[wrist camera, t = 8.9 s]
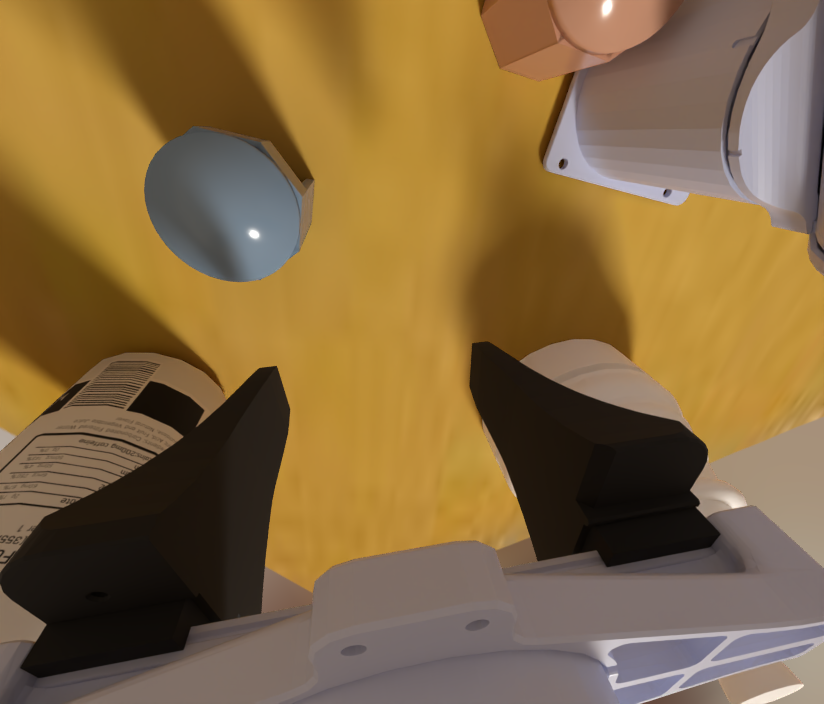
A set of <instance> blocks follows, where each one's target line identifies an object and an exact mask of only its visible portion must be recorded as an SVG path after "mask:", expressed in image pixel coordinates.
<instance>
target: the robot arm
mask: <svg viewBox="0 0 824 704" xmlns="http://www.w3.org/2000/svg"><path fill="white" fill-rule="evenodd" d="M561 159H564V165H563V167H562V168H559V166H558V165H559V162H560V160H561ZM543 167H544V169H545V170H546V171H548V172H551V173H555V174H559V175H563V176H566V177H570V178H574V179H578V180H581V181H585V182H589V183H593V184H596V185H600V186H604V187H608V188H611V189H615V190H619V191H623V192H626V193H630V194H634V195H638V196H641V197H645V198H649V199H653V200H656V201H660V202H664V203H668V204H672V205H680V204H682V203H683V202H684V201H685V200H686V199H687V197H688V195H689V194H690V193H694V194H700V195H706V196H711V197H717V198H723V199H729V200H734V201H740V202H746V203H752V204H757V205H761V206H763V207H764V208H766V210H767V211H768V212H769V214H770V217H771V225H772V226H773V227H778V228H782V229H787V230H791V231H796V232H801V233H805V234H809V241H808V249H807V250H808V254H809V259H810V261H811V262H812V264H813V265H814V267H815V268H816V270H817V271H819V272H820V273H821V274H822V275H823V276H824V0H684V1H683V3H682V4H681V5H680V7H679V8H678V10H677V11H676V12H675V13H674V15H673V16H672V17H671V18H670V19H669V20H668V22H667V23H666V24H665V25H664V26H663V27H662V28H661V29H660V30H658V31H657V32H656V33H655V34H653V35H652V36H651V37H650V38H648V39H647V40H645V41H643V42H642V43H640V44H638V45H636V46H634V47H632V48H629V49H626V50H625V51H623V52H622V53H620V54H619V55H618V56H616V57H615V58H614V59H612V60H611V61H609V62H607V63H604V64H600V65H596V66H593V67H589V68H586V69H582V70H578V71H575V74H574V76H573V79H572V82H571V85H570V87H569V90H568V93H567V96H566V99H565V101H564V104H563V107H562V110H561V112H560V115H559V118H558V121H557V123H556V126H555V129H554V132H553V135H552V137H551V140H550V143H549V146H548V148H547V151H546V154H545V157H544V160H543ZM666 189H667V191H666V193H665V195H663V193H664V191H665V190H666ZM470 389H471V392H472V395H473V398H474V401H475V404H476V407H477V409H478V411H479V413H480V415H481V417H482V419H483V421H484V423H485V425H486V427H487V429H488V431H489V433H490V435H491V437H492V439H493V441H494V443H495V445H496V447H497V449H498V451H499V453H500V455H501V457H502V459H503V462H504V464H505V466H506V469H507V472H508V474H509V477H510V480H511V482H512V485H513V488H514V490H515V493H516V496H517V499H518V502H519V505H520V507H521V510H522V513H523V516H524V519H525V522H526V525H527V529H528V532H529V535H530V538H531V541H532V544H533V547H534V550H535V554H536V557H537V560H538V561H537V562H532V563H527V564H521V565H516V566H511V567H506V568H501V566H500V563H499V560H498V557H497V554H496V551H495V549H494V548H492V547H490V546H488V545H485V544H483V543H481V542H478V541H454V542H448V543H442V544H437V545H431V546H426V547H420V548H414V549H409V550H403V551H397V552H392V553H386V554H381V555H375V556H369V557H364V558H358V559H353V560H350V561H347V562H344V563H341V564H338V565H335V566H332V567H331V568H330V569H329V570H328V571H326V572H325V573H324V574H323V575H321V576H320V577H319V578H318V579H317V580H316V581H315V584H314V591H313V600H312V601H313V602H312V604H309V605H304V606H299V607H294V608H288V609H283V610H278V611H273V612H267V613H262V614H261V609H262V592H263V580H264V569H265V557H266V548H267V539H268V530H269V522H270V514H271V506H272V499H273V494H274V489H275V485H276V481H277V477H278V473H279V469H280V465H281V461H282V457H283V452H284V448H285V444H286V440H287V435H288V428H289V417H290V407H289V404H288V401H287V397H286V394H285V391H284V388H283V384H282V381H281V378H280V375H279V371H278V368H277V366H273V367H264V368H259V369H258V370H257V371H255V372H254V373H253V374H252V375H251V376H250V377H249V378H248V379H247V380H246V381H245V382H244V383H243V384H242V385H241V386H240V387H239V388H238V389H237V390H236V391H235V392H234V393H233V394H232V395H231V396H230V397H229V398H228V399H227V400H226V401H225V402H224V403H223V404H222V405H221V406H220V407H219V408H217V409H216V410H215V411H214V412H213V413H212V414H211V415H210V416H209V417H207V418H206V419H205V420H204V421H203V422H202V423H201V424H199V425H198V426H197V427H196V428H194V429H193V430H192V431H191V432H189V433H188V434H187V435H185V436H184V437H183V438H181V439H180V440H179V441H177V442H176V443H175V444H173V445H172V446H170V447H169V448H167V449H166V450H164V451H163V452H161V453H160V454H158V455H157V456H155V457H154V458H152V459H151V460H149V461H148V462H146V463H145V464H143V465H142V466H140V467H138V468H137V469H135V470H133V471H132V472H130V473H128V474H126V475H125V476H123V477H121V478H120V479H118V480H116V481H114V482H112V483H111V484H109V485H107V486H105V487H103V488H101V489H100V490H98V491H96V492H94V493H92V494H90V495H88V496H86V497H84V498H82V499H80V500H78V501H76V502H74V503H72V504H70V505H68V506H66V507H64V508H62V509H60V510H58V511H56V512H53V513H51V514H49V515H47V516H45V517H44V518H43V519H42V520H41V521H40V523H39V524H38V525H37V526H36V528H35V529H34V530H33V531H32V533H31V534H30V535H29V536H28V538H27V539H26V540H25V541H24V543H23V544H22V545H21V546H20V548H19V549H18V550H17V552H16V553H15V554H14V555H13V557H12V558H11V559H10V560H9V562H8V563H7V564H6V565H5V567H4V568H3V569H2V570H1V572H0V585H1V588H2V591H3V593H4V594H5V595H7V596H8V597H9V598H10V599H11V600H12V601H13V602H15V603H16V604H18V605H19V606H21V607H22V608H24V609H25V610H27V611H28V612H29V613H31V614H32V615H34V616H35V617H37V618H38V619H40V620H41V621H43V622H44V623H45V624H47V625H46V626H45V628H44V629H43V631H42V633H41V634H40V636H39V638H38V639H37V641H36V642H35V641H30V640H14V641H8V642H3V643H0V704H641V703H644V702H647V701H651V700H654V699H657V698H660V697H663V696H666V695H669V694H672V693H676V692H679V691H682V690H685V689H688V688H691V687H694V686H697V685H701V684H704V683H707V682H710V681H713V680H717V679H720V678H723V677H727V676H730V675H733V674H736V673H740V672H743V671H747V670H751V669H754V668H758V667H761V666H765V665H769V664H773V663H776V662H780V661H784V660H788V659H792V658H796V657H800V656H802V655H804V654H805V653H807V652H809V651H810V650H812V649H813V648H815V647H816V646H818V645H819V644H821V643H822V642H824V568H823V567H822V566H821V565H819V564H818V563H817V562H816V561H815V560H814V559H813V558H812V557H810V555H808V554H807V553H806V552H805V551H804V550H803V549H802V548H801V547H800V546H799V545H798V544H796V543H795V542H794V541H793V540H792V539H791V538H790V537H789V536H788V535H787V534H786V533H785V532H783V531H782V530H781V529H780V528H779V527H778V526H777V525H776V524H775V523H774V522H773V521H771V520H770V519H769V518H768V517H767V516H766V515H765V514H764V513H763V512H762V511H761V510H759V509H758V508H757V507H756V506H752V505H750V506H745V507H739V508H734V509H728V510H723V511H718V512H715V513H713V514H711V515H709V516H708V517H707V518H706V517H705V516H704V515H703V514H702V513H701V512H700V511H699V510H698V509H697V508H696V507H698V506H699V505H700V501H699V499H698V498H697V497H696V496H695V495H694V494H693V493H692V492H691V491H690V490H691V488H692V486H693V485H694V483H695V482H696V480H697V478H698V477H699V475H700V474H701V472H702V470H703V469H704V467H705V464H706V462H707V458H708V449H707V447H706V445H705V443H704V442H703V441H701V440H700V439H699V438H698V437H697V436H696V435H695V434H693V433H692V432H691V431H690V430H689V429H688V428H687V427H685V426H684V425H683V424H682V423H681V422H680V421H677V420H672V419H668V418H663V417H658V416H654V415H649V414H645V413H641V412H637V411H633V410H630V409H626V408H623V407H619V406H616V405H613V404H609V403H606V402H603V401H601V400H598V399H595V398H592V397H589V396H587V395H584V394H582V393H579V392H577V391H574V390H572V389H570V388H568V387H565V386H563V385H561V384H559V383H557V382H555V381H553V380H551V379H549V378H547V377H545V376H543V375H541V374H540V373H538V372H536V371H534V370H533V369H531V368H529V367H528V366H526V365H524V364H523V363H521V362H519V361H518V360H516V359H515V358H513V357H512V356H510V355H509V354H507V353H505V352H504V351H502V350H501V349H499V348H498V347H496V346H495V345H493V344H491V343H490V342H479V343H472V355H471V372H470Z"/></svg>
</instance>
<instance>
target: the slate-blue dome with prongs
mask: <svg viewBox="0 0 824 704" xmlns="http://www.w3.org/2000/svg"><path fill="white" fill-rule="evenodd" d="M144 192H145V202H146V206H147V211H148V213H149V216H150V219H151V221H152V223H153V225H154V227H155V229H156V231H157V233H158V234H159V236H160V237H161V239H162V240H163V241H164V243H165V244H166V245H167V246H168V248H169V249H170V250H171V251H172V252H173V253H174V254H175V255H176V256H178V257H179V258H180V259H181V260H182V261H183V262H185V263H186V264H188V265H189V266H191V267H192V268H194V269H196V270H198V271H199V272H201V273H204V274H206V275H208V276H211V277H214V278H217V279H221V280H226V281H233V282H248V281H254V280H261V279H262V278H264V277H266V276H269V275H271V274H272V273H274V272H276V271H277V270H278V269H279V268H281V267H282V266H283V265H284V264H285V262H286V261H287V260H288V259H289V258H291V257H292V256H293V255H295V254H296V253H298V252H299V251H300V249H301V246H302V244H303V241H304V239H305V237H306V234H307V232H308V230H309V227H310V225H311V223H312V222H311V221H312V207H313V194H314V180H311V179H307V178H306V179H305V180H304V181H303V182H302V183H301V181H300V180H299V179H298V177H297V176H296V175H295V173H294V172H293V171H292V169H291V168H290V167H289V165H288V164H287V163H286V161H285V160H284V159H283V157H282V156H281V155H280V153H279V152H278V151H277V149H276V148H275V147H274V145H273V144H272V143H271V141H267V140H263V139H259V138H255V137H250V136H246V135H242V134H238V133H234V132H230V131H225V130H221V129H217V128H213V127H204V126H193V127H192V128H191V129H189V130H188V131H187V132H186V133H185V134H184V135H183V136H179V137H177V138H175V139H173V140H171V141H169V142H168V143H167V144H165V145H164V146H163V147H162V148H161V149H160V150H159V151H158V152H157V153H156V154H155V156H154V157H153V159H152V160H151V162H150V164H149V167H148V170H147V173H146V178H145V187H144Z"/></svg>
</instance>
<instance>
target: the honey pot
mask: <svg viewBox="0 0 824 704" xmlns="http://www.w3.org/2000/svg"><path fill="white" fill-rule="evenodd" d="M519 362H521V363H523V364H524V365H526V366H528V367H529V368H531V369H533V370H534V371H536V372H538V373H540V374H541V375H543V376H545V377H547V378H549V379H551V380H553V381H555V382H557V383H559V384H561V385H563V386H565V387H568V388H570V389H572V390H574V391H577V392H579V393H582V394H584V395H587V396H589V397H592V398H595V399H598V400H601V401H603V402H606V403H609V404H613V405H616V406H619V407H623V408H626V409H630V410H633V411H637V412H641V413H645V414H649V415H654V416H658V417H663V418H668V419H672V420H677V421H680V422H681V423H682V424H683V425H684V426H685V427H687V428H688V429H689V430H690V431H691V432H692V433H693V431H692V429H691V427H690V425H689V423H688V422H687V420H686V419H685V418H684V417H683V416H682V412H681V409H680V407H679V405H678V403H677V401H676V399H675V398H674V397H673V395H672V394H671V393H670V392H669V391H668V390H666V389H665V388H664V387H662V386H661V385H660V384H659V383H658V382H656V381H655V380H654V379H653V378H652V377H650V376H649V375H648V374H647V373H645V372H644V371H643V370H642V369H641V368H639V367H638V366H637V365H636V364H634V363H633V362H632V361H631V360H629V359H628V358H627V357H626V356H624V355H623V354H622V353H621V352H619V351H618V350H617V349H615V348H614V347H613V346H611V345H610V344H607V343H604V342H600V341H597V340H594V339H572V340H567V341H563V342H559V343H554V344H550V345H548V346H546V347H544V348H542V349H539V350H537V351H535V352H533V353H530V354H529V355H527V356H526V357H525V358H523V359H522V360H520V361H519ZM482 423H483V431H484V433H485V436H486V438H487V440H488V442H489V444H490V447H491V449H492V451H493V453H494V456H495V458H496V460H497V462H498V464H499V467H500V469H501V471H502V473H503V475H504V478H505V480H506V482H507V484H508V486H509V488H510V490H511V491H512V493H513V494H514V495H515V496H516V493H515V490H514V488H513V485H512V482H511V480H510V477H509V474H508V472H507V469H506V466H505V464H504V462H503V459H502V457H501V455H500V453H499V451H498V449H497V447H496V445H495V443H494V441H493V439H492V437H491V435H490V433H489V431H488V429H487V427H486V425H485V423H484V421H483V419H482ZM690 491H691V492H692V493H693V494H694V495H695V496H696V497H697V498H698V499H699V501H700V505H699V506H698V507H696V508H697V509H698V510H699V511H700V512H701V513H702V514H703V515H704V516H705V517H706V518H707V517H708V516H709V515H711V514H713V513H715V512H718V511H723V510H728V509H734V508H739V507H745V506H747V503H746V501H745V498H744V495H743V494H742V493H741V491H739V490H738V489H736V488H735V487H733V486H731V485H730V484H728V483H727V482H725V481H721V480H718V479H717V477H716V475H715V473H714V471H713V469H712V468H711V466H710V464H709V462H708V458H707V462H706V464H705V467H704V469H703V470H702V472H701V474H700V475H699V477H698V478H697V480H696V482H695V483H694V485H693V486H692V488H691V490H690ZM516 497H517V496H516ZM718 681H719V683H720V685H721V687H722V689H723V691H724V693H725V695H726V697H727V698H728V700H729V702H730V704H765V703H768V702H771V701H774V700H777V699H779V698H782V697H784V696H786V695H789V694H791V693H793V692H795V691H797V690H799V689H801V688H802V687H803V686H804V685H803V683H802V682H801V681H800V680H799V679H798V678H797V677H796V675H794V674H793V672H792V671H791V670H790V669H789V668H788V667H787V666H786V665H784V663H782V662H781V661H780V662H776V663H773V664H769V665H765V666H761V667H758V668H754V669H751V670H747V671H743V672H740V673H736V674H733V675H730V676H727V677H723V678H720V679H718Z"/></svg>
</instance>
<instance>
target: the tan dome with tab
mask: <svg viewBox="0 0 824 704" xmlns="http://www.w3.org/2000/svg"><path fill="white" fill-rule="evenodd" d="M683 1H684V0H485V2H484V6H483V10H482V14H481V18H482V20H483V23H484V26H485V29H486V31H487V34H488V37H489V40H490V42H491V45H492V48H493V51H494V53H495V56H496V59H497V62H498V64H499V67H500V68H501V69H504V70H507V71H510V72H513V73H515V74H518V75H521V76H524V77H527V78H530V79H533V80H536V81H542V80H546V79H549V78H553V77H557V76H560V75H564V74H567V73H571V72H575V71H578V70H582V69H586V68H589V67H593V66H596V65H600V64H604V63H607V62H609V61H611V60H612V59H614V58H615V57H616V56H618V55H619V54H620V53H622V52H623V51H625V50H626V49H629V48H632V47H634V46H636V45H638V44H640V43H642V42H643V41H645V40H647V39H648V38H650V37H651V36H652V35H653V34H655V33H656V32H657V31H658V30H660V29H661V28H662V27H663V26H664V25H665V24H666V23H667V22H668V20H669V19H670V18H671V17H672V16H673V15H674V13H675V12H676V11H677V10H678V8H679V7H680V5H681V4H682V3H683Z"/></svg>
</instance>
